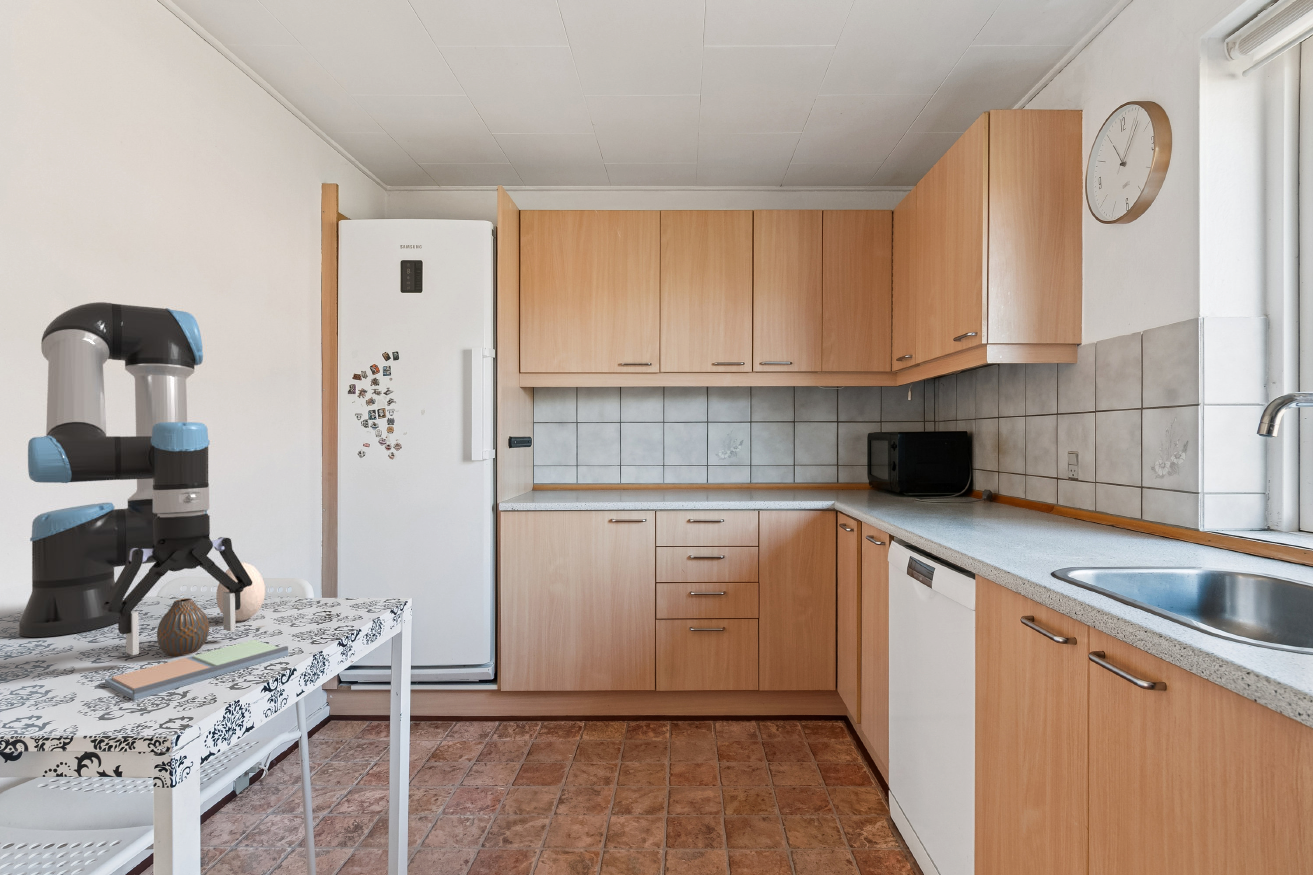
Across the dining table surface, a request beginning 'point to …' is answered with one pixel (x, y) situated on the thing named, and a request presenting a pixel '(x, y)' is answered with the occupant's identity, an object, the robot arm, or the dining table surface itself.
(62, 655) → the dining table surface
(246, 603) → the egg
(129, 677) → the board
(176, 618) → the vase
